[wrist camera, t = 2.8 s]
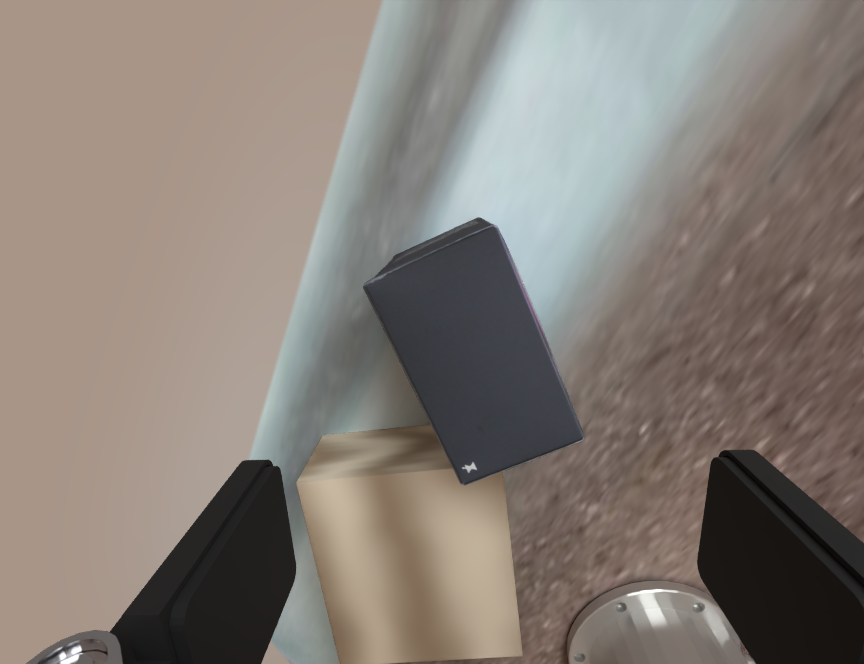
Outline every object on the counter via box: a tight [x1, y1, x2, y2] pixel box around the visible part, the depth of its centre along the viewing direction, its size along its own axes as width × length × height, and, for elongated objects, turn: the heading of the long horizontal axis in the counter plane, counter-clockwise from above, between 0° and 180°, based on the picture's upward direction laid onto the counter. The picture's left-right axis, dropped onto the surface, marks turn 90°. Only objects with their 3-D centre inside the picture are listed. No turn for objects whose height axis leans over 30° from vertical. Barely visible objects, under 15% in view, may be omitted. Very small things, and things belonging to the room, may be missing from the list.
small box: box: [363, 218, 584, 486], centre depth 25 cm, size 11×6×10 cm, turn 25°
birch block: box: [296, 425, 523, 664], centre depth 32 cm, size 12×14×6 cm
